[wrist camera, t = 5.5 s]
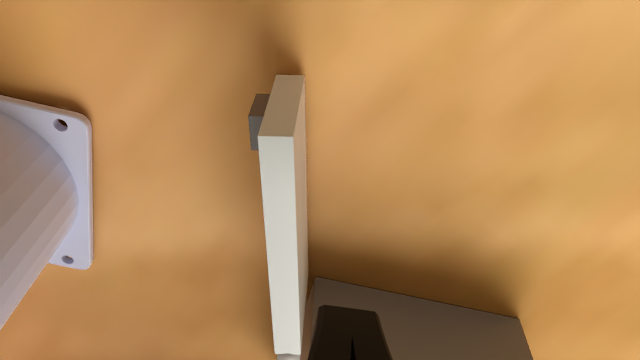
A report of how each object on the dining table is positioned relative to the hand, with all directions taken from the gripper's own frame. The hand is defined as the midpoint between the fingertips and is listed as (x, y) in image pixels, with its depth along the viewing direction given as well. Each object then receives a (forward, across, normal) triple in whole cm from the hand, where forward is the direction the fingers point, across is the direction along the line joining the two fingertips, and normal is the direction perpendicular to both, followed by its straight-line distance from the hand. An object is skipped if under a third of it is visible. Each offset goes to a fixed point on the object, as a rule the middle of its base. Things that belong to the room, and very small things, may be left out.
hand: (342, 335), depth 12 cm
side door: (+9, +2, +2) cm, 9 cm away
